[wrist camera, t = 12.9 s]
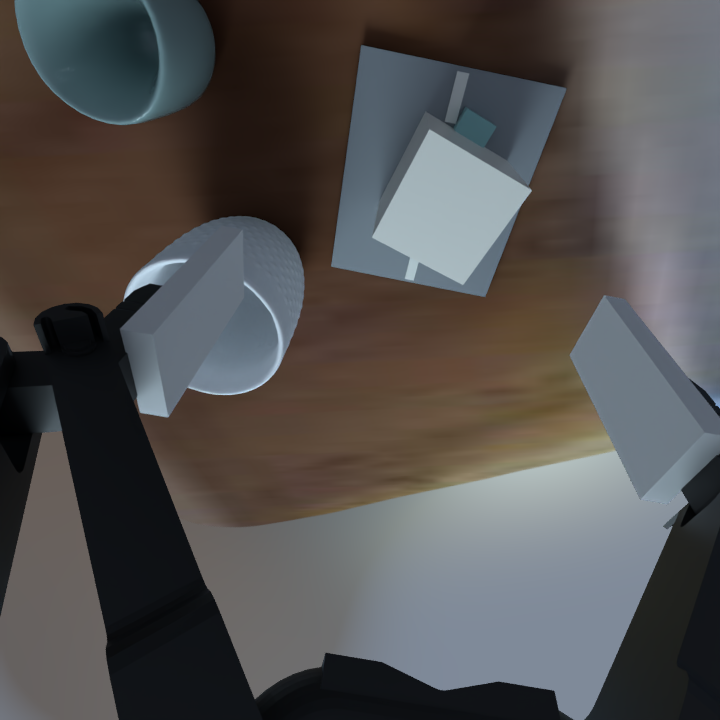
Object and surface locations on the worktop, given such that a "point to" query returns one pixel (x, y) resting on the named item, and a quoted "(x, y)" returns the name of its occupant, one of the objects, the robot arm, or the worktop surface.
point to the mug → (242, 303)
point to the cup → (120, 54)
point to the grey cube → (449, 196)
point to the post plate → (394, 132)
